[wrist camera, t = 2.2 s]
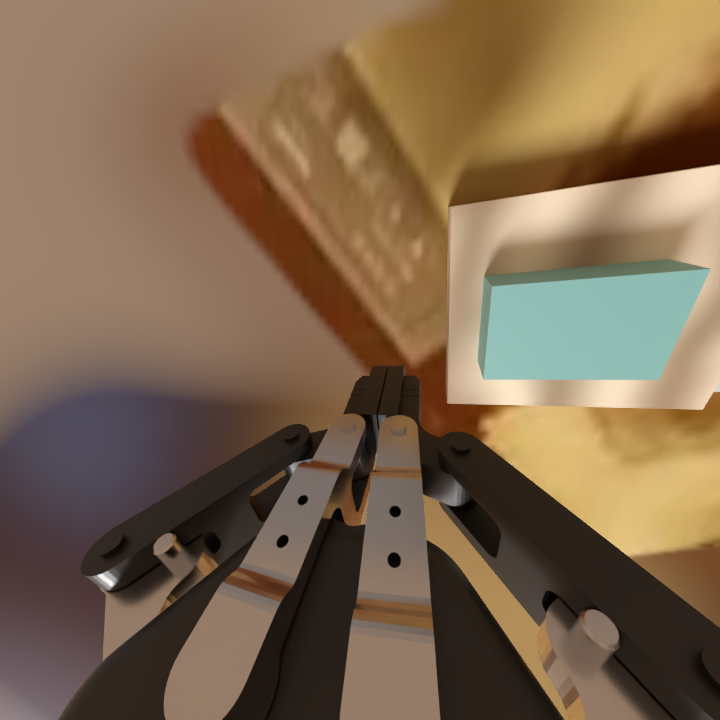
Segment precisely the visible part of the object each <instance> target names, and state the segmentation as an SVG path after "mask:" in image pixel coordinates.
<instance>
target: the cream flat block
mask: <svg viewBox="0 0 720 720" xmlns="http://www.w3.org/2000/svg"><path fill="white" fill-rule="evenodd" d="M663 259H671V260H675V261H679V262H684V263H688V264H692V265H697V266H701V267H705V268H710V269H711V270H710V272H709V274H708V276H707V278H706V280H705V283H704V285H703V287H702V289H701V291H700V293H699V295H698V297H697V300H696V302H695V304H694V306H693V308H692V310H691V312H690V315H689V317H688V319H687V321H686V323H685V325H684V327H683V329H682V332H681V334H680V336H679V338H678V340H677V342H676V344H675V347H674V349H673V351H672V353H671V355H670V357H669V359H668V361H667V364H666V366H665V368H664V370H663V372H662V374H661V376H660V379H659V380H483V377H482V374H481V370H480V367H479V364H478V361H477V358H478V346H479V333H480V320H481V307H482V294H483V281H484V276H487V275H498V274H509V273H520V272H531V271H542V270H553V269H564V268H575V267H586V266H597V265H608V264H619V263H630V262H641V261H652V260H663ZM719 382H720V164H716V165H709V166H703V167H697V168H690V169H684V170H678V171H671V172H665V173H659V174H652V175H646V176H640V177H633V178H627V179H620V180H614V181H608V182H601V183H595V184H589V185H582V186H576V187H570V188H563V189H557V190H551V191H544V192H538V193H531V194H525V195H519V196H512V197H506V198H500V199H493V200H487V201H481V202H474V203H468V204H462V205H455V206H449V207H448V261H447V334H446V393H447V403H451V404H492V405H534V406H576V407H617V408H659V409H701V410H703V408H704V407H705V405H706V403H707V402H708V400H709V398H710V397H711V395H712V393H713V392H714V390H715V388H716V387H717V385H718V383H719Z"/></svg>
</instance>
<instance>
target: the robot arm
mask: <svg viewBox="0 0 720 720" xmlns="http://www.w3.org/2000/svg"><path fill="white" fill-rule="evenodd" d="M375 458H376V468H375V470H373V466H374V461H375ZM282 470H284V471H285V473H286V475H285V476H283V477H282V478H280V479H279V480H277V481H276V482H275V483H273V484H272V485H270V486H269V487H267V488H266V489H264V490H263V491H261V492H260V493H258V494H257V495H255V496H250V494H251V493H252V491H253V490H254V489H255V488H257V487H259V486H260V485H262V484H263V483H265V482H266V481H268V480H269V479H270V478H272V477H274V476H275V475H277V474H278V473H279V472H281V471H282ZM368 493H369V499H368V507H367V517H366V524H365V525H361V519H362V515H363V511H364V508H365V504H366V501H367V497H368ZM423 494H424V495H426V496H429V497H431V498H433V499H436V500H438V501H439V504H440V506H441V507H442V509H443V510H444V511H445V513H446V514H447V515H448V516H449V517H450V519H451V520H452V521H453V522H454V524H455V525H456V526H457V527H458V528H459V530H460V531H461V532H462V533H463V534H464V536H465V537H466V538H467V539H468V541H469V542H470V543H471V544H472V546H473V547H474V548H475V549H476V550H477V551H478V553H479V554H480V555H481V556H482V558H483V559H484V560H485V561H486V563H487V564H488V565H489V566H490V567H491V569H492V570H493V571H494V572H495V574H496V575H497V576H498V577H499V578H500V579H501V581H502V582H503V583H504V584H505V586H506V587H507V588H508V589H509V591H510V592H511V593H512V594H513V595H514V597H515V598H516V599H517V600H518V602H519V603H520V604H521V605H522V606H523V608H524V609H525V610H526V611H527V612H528V614H529V615H530V616H531V617H532V619H533V620H534V621H535V622H536V623H537V624H538V626H539V630H538V633H537V649H538V654H539V658H540V660H541V663H542V665H543V668H544V670H545V672H546V674H547V675H548V677H549V678H550V680H551V681H552V683H553V685H554V686H555V688H556V690H557V691H558V693H559V695H560V697H561V699H562V701H563V704H564V707H565V709H566V712H567V716H568V719H569V720H720V628H719V627H718V626H716V625H715V624H714V623H713V622H711V621H710V620H709V619H707V618H706V617H705V616H704V615H702V614H701V613H700V612H698V611H697V610H696V609H695V608H693V607H692V606H691V605H689V604H688V603H687V602H686V601H684V600H683V599H682V598H680V597H679V596H678V595H677V594H675V593H674V592H673V591H671V590H670V589H669V588H668V587H666V586H665V585H664V584H663V583H661V582H660V581H659V580H657V579H656V578H655V577H654V576H652V575H651V574H650V573H648V572H647V571H646V570H645V569H643V568H642V567H641V566H639V565H638V564H637V563H636V562H634V561H633V560H632V559H630V558H629V557H628V556H627V555H625V554H624V553H623V552H622V551H620V550H619V549H618V548H617V547H615V546H614V545H613V544H611V543H610V542H609V541H608V540H606V539H605V538H604V537H602V536H601V535H600V534H599V533H597V532H596V531H595V530H593V529H592V528H591V527H590V526H588V525H587V524H586V523H585V522H583V521H582V520H581V519H579V518H578V517H577V516H576V515H574V514H573V513H572V512H570V511H569V510H568V509H567V508H565V507H564V506H563V505H561V504H560V503H559V502H558V501H556V500H555V499H554V498H553V497H551V496H550V495H549V494H547V493H546V492H545V491H544V490H542V489H541V488H540V487H538V486H537V485H536V484H535V483H533V482H532V481H531V480H529V479H528V478H527V477H526V476H524V475H523V474H522V473H521V472H519V471H518V470H517V469H515V468H514V467H513V466H512V465H510V464H509V463H508V462H506V461H505V460H504V459H503V458H501V457H500V456H499V455H497V454H496V453H495V452H494V451H492V450H491V449H490V448H489V447H487V446H486V445H485V444H483V443H482V442H481V441H480V440H478V439H477V438H476V437H474V436H472V435H470V434H468V433H464V432H451V433H447V434H445V435H444V436H443V437H441V438H440V437H437V436H434V435H431V434H429V433H428V432H426V431H425V430H424V429H423V428H422V427H421V393H420V381H419V380H418V378H417V377H416V376H406V375H405V366H404V365H390V366H373V367H372V370H371V373H370V376H362V377H361V378H360V379H359V380H358V381H357V382H356V383H355V386H354V388H353V391H352V393H351V396H350V399H349V401H348V404H347V407H346V409H345V412H344V414H343V415H342V416H339V417H337V418H336V419H335V420H334V421H333V422H332V423H331V425H330V427H329V429H326V430H323V431H318V432H313V433H310V431H309V429H308V428H307V427H306V426H305V425H302V424H294V425H290V426H287V427H285V428H283V429H281V430H280V431H278V432H276V433H274V434H273V435H271V436H270V437H268V438H266V439H264V440H263V441H261V442H259V443H258V444H256V445H254V446H253V447H251V448H249V449H247V450H246V451H244V452H242V453H241V454H239V455H237V456H236V457H234V458H232V459H230V460H229V461H227V462H225V463H224V464H222V465H220V466H218V467H217V468H215V469H213V470H212V471H210V472H208V473H206V474H205V475H203V476H201V477H200V478H198V479H196V480H195V481H193V482H191V483H189V484H188V485H186V486H184V487H183V488H181V489H179V490H178V491H176V492H174V493H172V494H171V495H169V496H167V497H166V498H164V499H162V500H160V501H159V502H157V503H155V504H154V505H152V506H150V507H149V508H147V509H145V510H144V511H142V512H140V513H139V514H137V515H135V516H133V517H132V518H130V519H128V520H126V521H125V522H123V523H121V524H120V525H118V526H116V527H115V528H113V529H111V530H110V531H108V532H107V533H106V534H104V535H103V536H102V537H101V538H100V539H99V540H98V541H97V542H96V543H95V544H94V545H93V546H92V547H91V548H90V550H89V551H88V552H87V554H86V555H85V557H84V559H83V561H82V565H81V572H82V573H83V574H84V575H85V576H86V577H88V578H89V579H90V580H92V581H93V582H94V583H95V584H97V585H98V586H99V587H100V589H101V590H102V591H103V592H104V593H105V594H106V608H105V628H104V646H103V662H102V663H101V664H100V665H99V666H98V667H97V668H96V669H95V670H94V671H93V672H92V674H91V675H90V676H89V677H88V678H87V679H86V680H85V682H84V683H83V684H82V686H81V687H80V688H79V689H78V691H77V692H76V693H75V695H74V696H73V698H72V699H71V700H70V702H69V703H68V705H67V706H66V708H65V709H64V711H63V713H62V715H61V716H60V718H59V719H58V720H564V719H563V717H562V716H561V714H560V713H559V712H558V710H557V708H556V707H555V706H554V704H553V703H552V701H551V700H550V698H549V697H548V695H547V694H546V692H545V691H544V689H543V688H542V687H541V685H540V684H539V682H538V681H537V679H536V678H535V676H534V675H533V674H532V672H531V671H530V669H529V668H528V666H527V665H526V663H525V662H524V660H523V659H522V657H521V656H520V655H519V653H518V652H517V650H516V649H515V647H514V646H513V644H512V643H511V641H510V640H509V638H508V637H507V636H506V634H505V633H504V631H503V630H502V628H501V627H500V625H499V624H498V623H497V621H496V620H495V618H494V617H493V615H492V614H491V612H490V611H489V609H488V608H487V607H486V605H485V604H484V602H483V601H482V599H481V598H480V596H479V595H478V593H477V592H476V590H475V589H474V588H473V586H472V585H471V583H470V582H469V580H468V579H467V577H466V576H465V574H464V573H463V572H462V570H461V569H460V568H459V567H458V565H457V564H456V563H455V562H454V561H453V560H452V558H450V557H449V556H448V555H447V554H446V553H445V552H444V551H443V550H441V549H440V548H439V547H438V546H436V545H434V544H433V543H431V542H429V541H427V540H426V530H425V529H426V528H425V514H424V502H423Z"/></svg>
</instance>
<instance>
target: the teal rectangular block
mask: <svg viewBox="0 0 720 720" xmlns="http://www.w3.org/2000/svg"><path fill="white" fill-rule="evenodd" d="M710 270H711V269H710V268H705V267H701V266H697V265H692V264H688V263H684V262H679V261H675V260H671V259H663V260H652V261H641V262H630V263H619V264H608V265H597V266H586V267H575V268H564V269H553V270H542V271H531V272H520V273H509V274H498V275H487V276H484V281H483V294H482V307H481V320H480V333H479V346H478V358H477V361H478V364H479V367H480V370H481V374H482V377H483V380H659V379H660V376H661V374H662V372H663V370H664V368H665V366H666V364H667V361H668V359H669V357H670V355H671V353H672V351H673V349H674V347H675V344H676V342H677V340H678V338H679V336H680V334H681V332H682V329H683V327H684V325H685V323H686V321H687V319H688V317H689V315H690V312H691V310H692V308H693V306H694V304H695V302H696V300H697V297H698V295H699V293H700V291H701V289H702V287H703V285H704V283H705V280H706V278H707V276H708V274H709V272H710Z"/></svg>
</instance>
